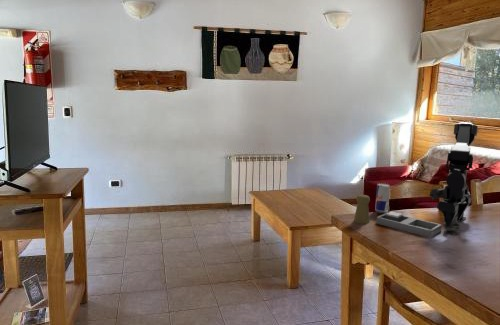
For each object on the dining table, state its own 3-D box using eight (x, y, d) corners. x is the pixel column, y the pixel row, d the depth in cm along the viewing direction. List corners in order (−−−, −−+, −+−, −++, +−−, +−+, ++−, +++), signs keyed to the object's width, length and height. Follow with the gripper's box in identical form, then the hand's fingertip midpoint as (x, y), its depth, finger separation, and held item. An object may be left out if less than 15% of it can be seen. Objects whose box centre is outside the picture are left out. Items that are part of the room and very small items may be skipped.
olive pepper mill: (372, 223, 164) (374, 196, 162) (359, 224, 162) (361, 197, 160) (363, 218, 170) (364, 192, 168) (350, 220, 168) (352, 194, 166)
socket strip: (387, 218, 171) (388, 212, 170) (441, 231, 156) (441, 224, 156) (376, 223, 164) (376, 217, 163) (430, 237, 149) (431, 230, 149)
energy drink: (372, 210, 181) (374, 183, 179) (382, 209, 183) (384, 183, 181) (380, 214, 177) (382, 186, 174) (390, 212, 178) (392, 185, 176)
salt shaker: (444, 229, 159) (448, 199, 156) (461, 232, 155) (465, 202, 153) (440, 233, 154) (443, 202, 152) (457, 237, 150) (461, 205, 148)
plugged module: (390, 220, 167) (391, 211, 166) (402, 223, 164) (403, 213, 163) (384, 223, 164) (385, 213, 163) (397, 226, 160) (397, 216, 160)
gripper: (443, 176, 163) (439, 214, 166) (424, 183, 150) (420, 224, 153) (473, 181, 156) (469, 220, 158) (456, 189, 142) (452, 232, 145)
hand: (452, 224), depth 154 cm, fingers open, 9 cm apart
